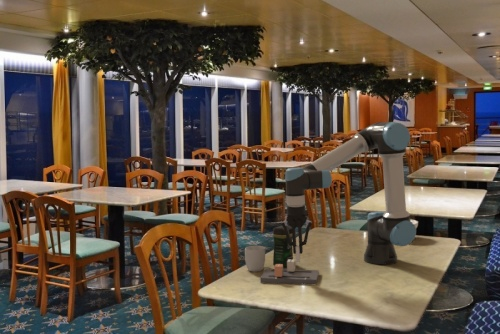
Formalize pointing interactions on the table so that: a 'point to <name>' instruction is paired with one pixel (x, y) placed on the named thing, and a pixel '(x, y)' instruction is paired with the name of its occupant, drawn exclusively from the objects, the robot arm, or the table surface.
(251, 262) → the mug
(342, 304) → the table surface
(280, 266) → the fader near
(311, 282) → the board
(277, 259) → the coffee jar
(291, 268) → the block
